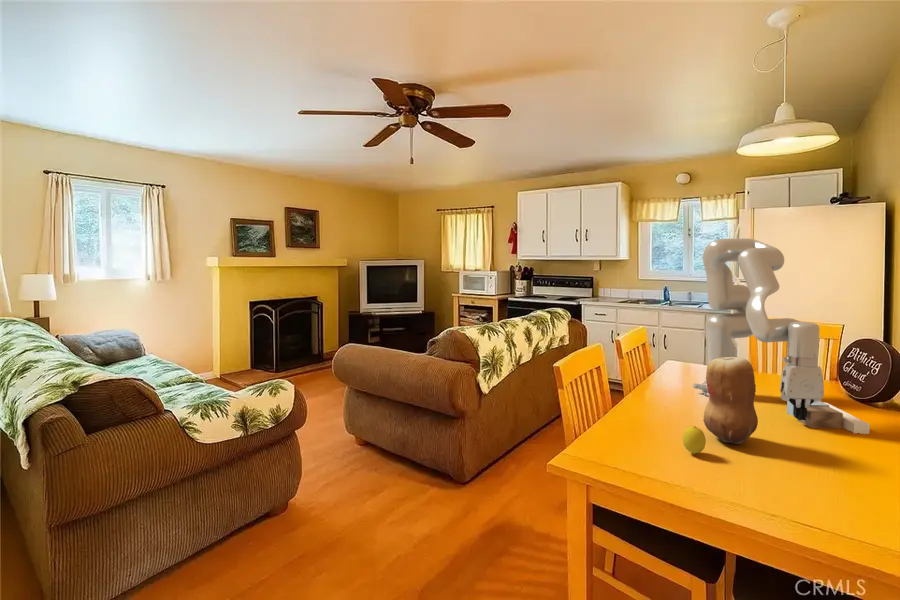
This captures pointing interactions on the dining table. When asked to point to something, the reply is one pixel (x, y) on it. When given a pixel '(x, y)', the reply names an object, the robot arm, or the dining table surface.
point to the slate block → (814, 404)
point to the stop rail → (852, 422)
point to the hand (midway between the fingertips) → (799, 418)
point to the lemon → (694, 439)
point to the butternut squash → (730, 399)
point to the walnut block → (823, 418)
